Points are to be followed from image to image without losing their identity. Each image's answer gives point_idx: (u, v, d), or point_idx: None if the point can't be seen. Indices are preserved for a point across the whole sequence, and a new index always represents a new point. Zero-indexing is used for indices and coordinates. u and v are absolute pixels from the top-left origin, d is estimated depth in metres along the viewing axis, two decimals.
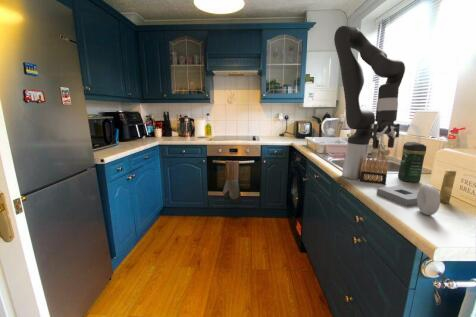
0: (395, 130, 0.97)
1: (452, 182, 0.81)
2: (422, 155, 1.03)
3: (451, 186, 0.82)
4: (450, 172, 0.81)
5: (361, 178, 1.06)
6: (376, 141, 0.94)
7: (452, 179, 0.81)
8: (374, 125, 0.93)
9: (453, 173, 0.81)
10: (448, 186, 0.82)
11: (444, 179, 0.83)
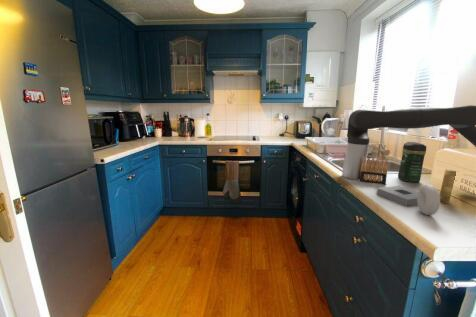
0: None
1: (452, 182, 0.81)
2: (422, 155, 1.03)
3: (451, 186, 0.82)
4: (450, 172, 0.81)
5: (361, 178, 1.06)
6: None
7: (452, 179, 0.81)
8: None
9: (453, 173, 0.81)
10: (448, 186, 0.82)
11: (444, 179, 0.83)
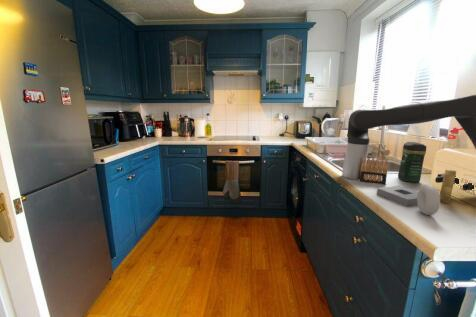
0: None
1: (452, 182, 0.81)
2: (422, 155, 1.03)
3: (451, 186, 0.82)
4: (450, 172, 0.81)
5: (361, 178, 1.06)
6: (471, 189, 0.80)
7: (452, 179, 0.81)
8: None
9: (453, 173, 0.81)
10: (448, 186, 0.82)
11: (444, 179, 0.83)
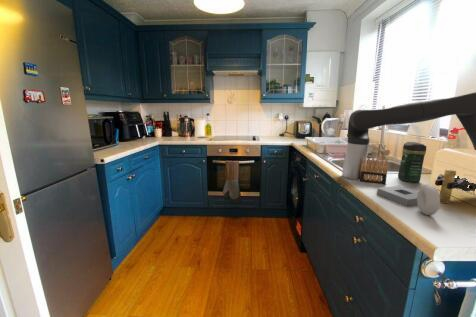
0: None
1: None
2: (422, 155, 1.03)
3: None
4: (450, 172, 0.81)
5: (361, 178, 1.06)
6: (455, 187, 0.81)
7: (452, 179, 0.81)
8: None
9: (453, 173, 0.81)
10: None
11: (444, 179, 0.83)
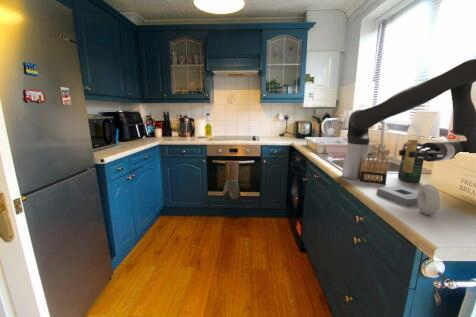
0: None
1: None
2: None
3: None
4: (412, 141, 0.81)
5: (361, 178, 1.06)
6: (417, 156, 0.81)
7: (414, 148, 0.81)
8: (441, 157, 0.80)
9: (414, 142, 0.81)
10: None
11: (407, 149, 0.83)
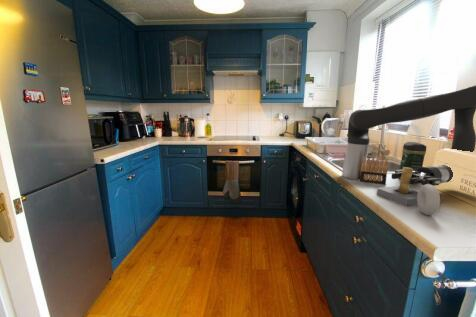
0: (401, 174, 0.92)
1: (409, 179, 0.84)
2: (422, 155, 1.03)
3: (408, 183, 0.84)
4: (407, 169, 0.84)
5: (361, 178, 1.06)
6: None
7: (409, 176, 0.84)
8: (438, 184, 0.82)
9: (409, 170, 0.83)
10: (405, 182, 0.85)
11: (402, 176, 0.85)
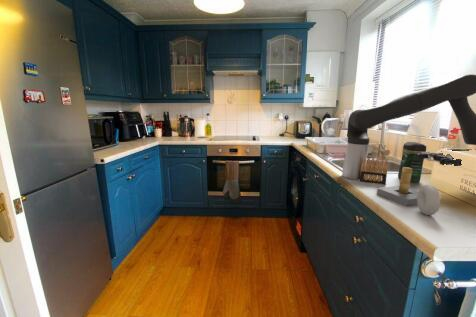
0: (425, 156, 0.96)
1: (409, 179, 0.84)
2: None
3: (408, 183, 0.85)
4: (406, 169, 0.84)
5: (361, 178, 1.06)
6: (447, 163, 0.85)
7: (409, 176, 0.84)
8: None
9: (409, 170, 0.83)
10: (405, 182, 0.85)
11: (401, 176, 0.86)
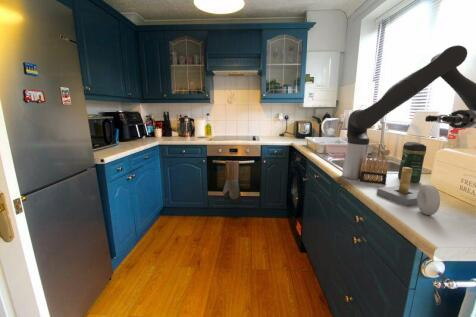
0: (434, 119, 0.95)
1: (408, 179, 0.84)
2: (422, 155, 1.03)
3: (408, 183, 0.85)
4: (406, 169, 0.84)
5: (361, 178, 1.06)
6: (458, 121, 0.84)
7: (409, 176, 0.84)
8: None
9: (409, 170, 0.83)
10: (405, 182, 0.85)
11: (401, 176, 0.86)
